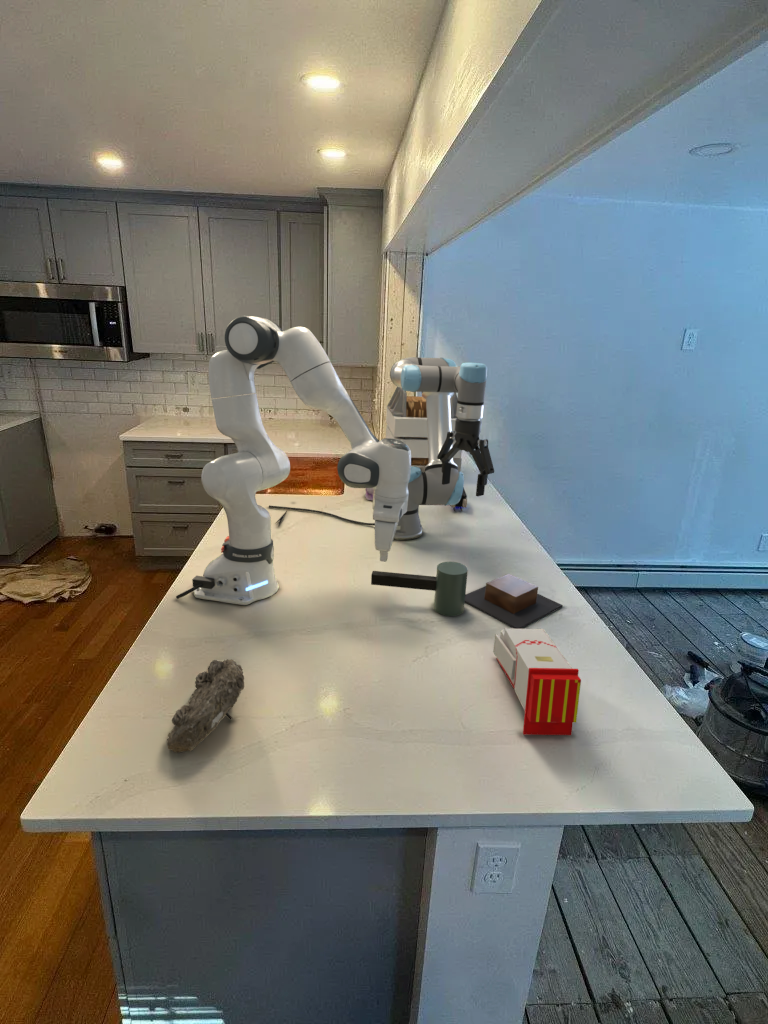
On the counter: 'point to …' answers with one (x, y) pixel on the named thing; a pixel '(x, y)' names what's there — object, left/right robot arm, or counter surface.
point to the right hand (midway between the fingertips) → (462, 489)
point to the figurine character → (461, 502)
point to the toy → (539, 680)
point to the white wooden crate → (415, 425)
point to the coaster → (513, 620)
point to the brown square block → (511, 593)
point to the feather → (281, 519)
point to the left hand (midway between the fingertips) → (386, 552)
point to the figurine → (369, 493)
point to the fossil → (206, 705)
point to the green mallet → (433, 585)
